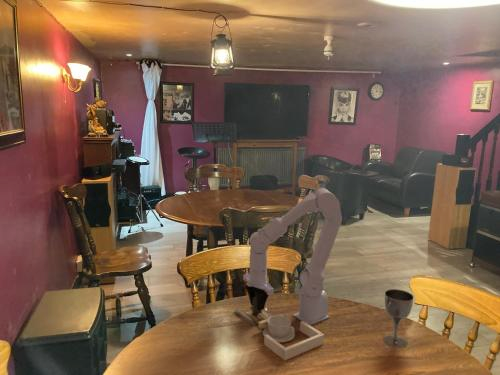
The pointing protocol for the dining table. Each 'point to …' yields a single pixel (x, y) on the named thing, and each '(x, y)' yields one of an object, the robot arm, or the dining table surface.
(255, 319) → the pushrod
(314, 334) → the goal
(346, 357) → the dining table surface
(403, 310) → the wine glass
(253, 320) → the rail
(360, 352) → the dining table surface
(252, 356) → the dining table surface
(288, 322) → the teacup
